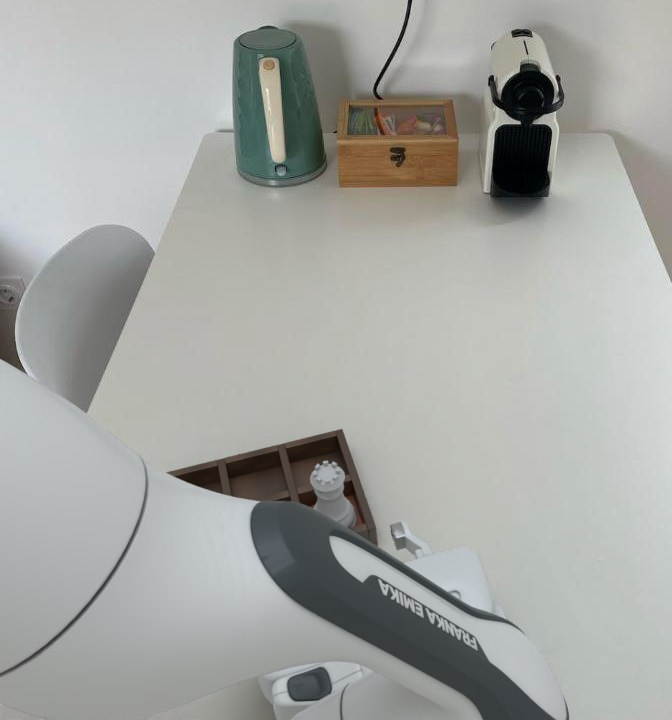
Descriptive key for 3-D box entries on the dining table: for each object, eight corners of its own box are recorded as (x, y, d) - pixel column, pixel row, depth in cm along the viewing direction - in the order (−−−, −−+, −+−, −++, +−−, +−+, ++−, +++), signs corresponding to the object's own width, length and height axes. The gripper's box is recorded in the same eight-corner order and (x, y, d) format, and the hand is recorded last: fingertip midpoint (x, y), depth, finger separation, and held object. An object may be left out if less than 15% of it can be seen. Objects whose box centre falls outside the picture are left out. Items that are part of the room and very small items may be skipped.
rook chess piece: (314, 504, 82) (305, 452, 77) (358, 504, 82) (352, 452, 76) (309, 541, 79) (299, 490, 73) (355, 542, 79) (348, 490, 73)
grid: (174, 602, 75) (166, 584, 73) (162, 493, 85) (154, 474, 83) (378, 546, 79) (376, 527, 77) (344, 447, 89) (342, 428, 86)
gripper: (522, 625, 61) (458, 487, 71) (252, 710, 57) (225, 551, 67) (517, 665, 65) (458, 530, 75) (266, 747, 61) (238, 592, 71)
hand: (346, 540), depth 71 cm, fingers open, 8 cm apart
